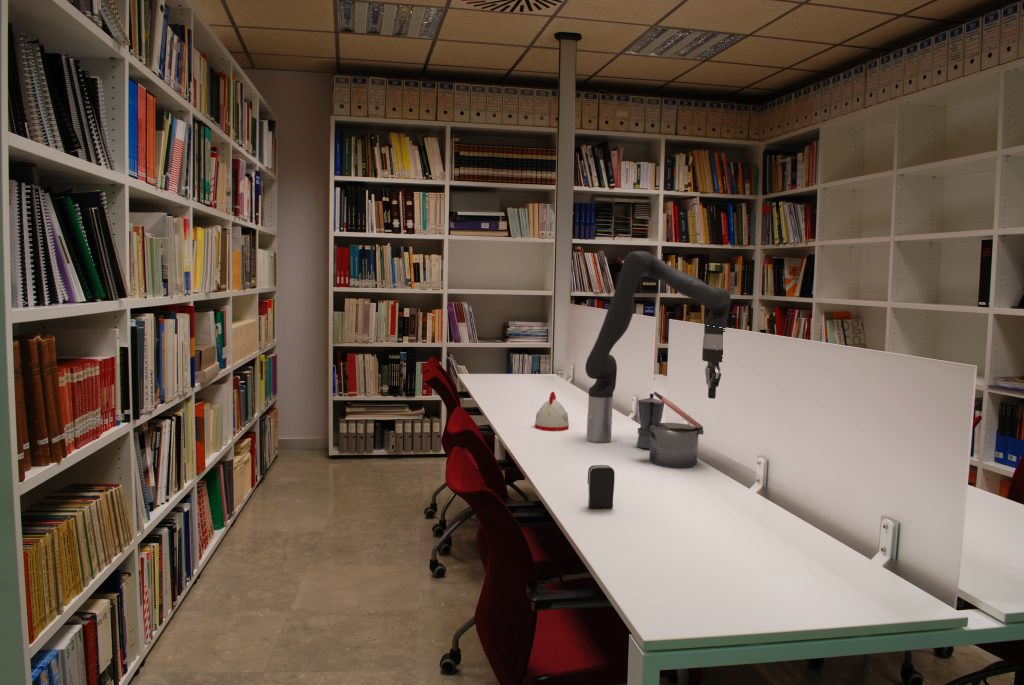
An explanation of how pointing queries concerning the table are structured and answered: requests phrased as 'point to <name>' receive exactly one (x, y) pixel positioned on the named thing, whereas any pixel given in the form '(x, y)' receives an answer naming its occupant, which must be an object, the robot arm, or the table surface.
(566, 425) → the kitchen timer
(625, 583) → the table surface
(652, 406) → the moka pot
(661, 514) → the table surface
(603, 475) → the battery charger
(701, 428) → the lid
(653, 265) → the robot arm
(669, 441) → the cooker pot
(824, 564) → the table surface
